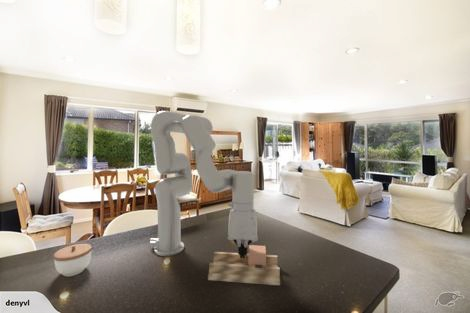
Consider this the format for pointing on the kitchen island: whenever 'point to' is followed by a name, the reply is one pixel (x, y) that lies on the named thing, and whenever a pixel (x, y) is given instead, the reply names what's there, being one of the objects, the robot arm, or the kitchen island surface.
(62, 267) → the lidded jar
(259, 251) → the block
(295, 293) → the kitchen island surface
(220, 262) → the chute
